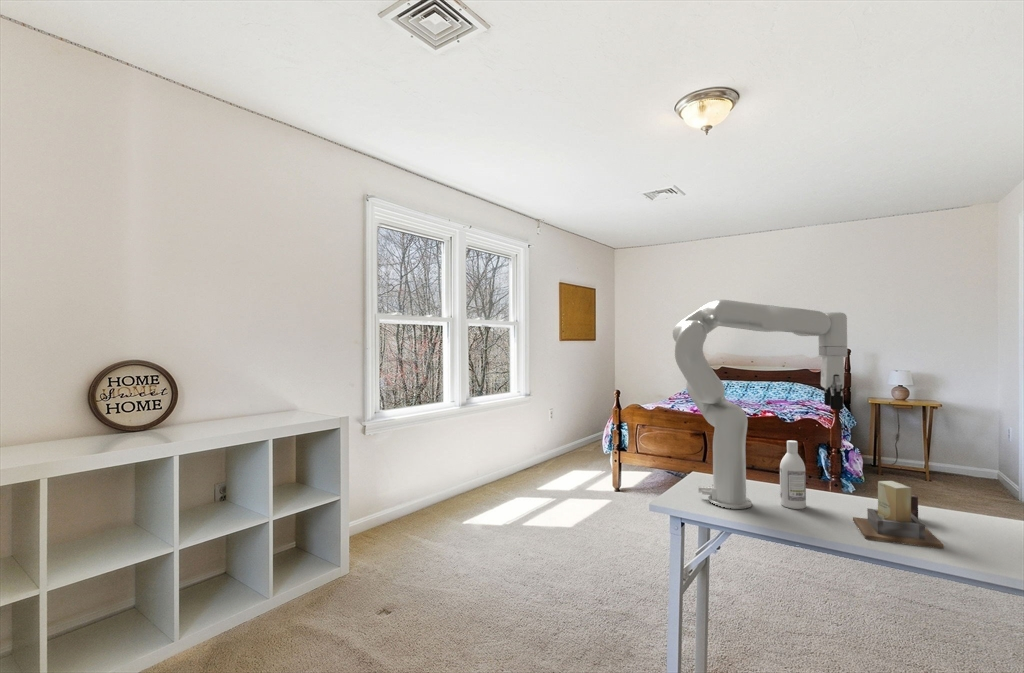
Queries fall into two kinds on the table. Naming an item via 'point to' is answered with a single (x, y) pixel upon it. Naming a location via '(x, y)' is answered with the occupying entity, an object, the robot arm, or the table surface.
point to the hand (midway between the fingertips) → (833, 407)
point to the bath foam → (792, 478)
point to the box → (914, 505)
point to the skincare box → (894, 501)
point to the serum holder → (896, 530)
